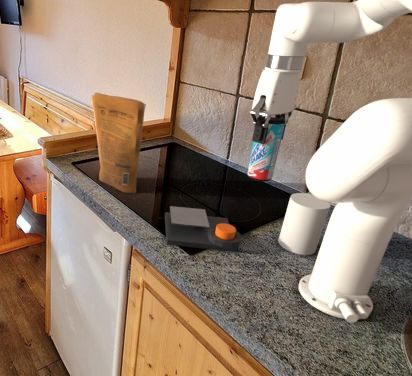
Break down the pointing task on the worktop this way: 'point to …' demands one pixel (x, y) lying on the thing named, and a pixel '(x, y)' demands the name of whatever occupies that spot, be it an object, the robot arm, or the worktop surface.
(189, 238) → the scale
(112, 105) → the pancake mix bag
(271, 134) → the beverage can
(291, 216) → the cup
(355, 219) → the robot arm
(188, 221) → the weighing pan
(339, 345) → the worktop surface
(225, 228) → the button
